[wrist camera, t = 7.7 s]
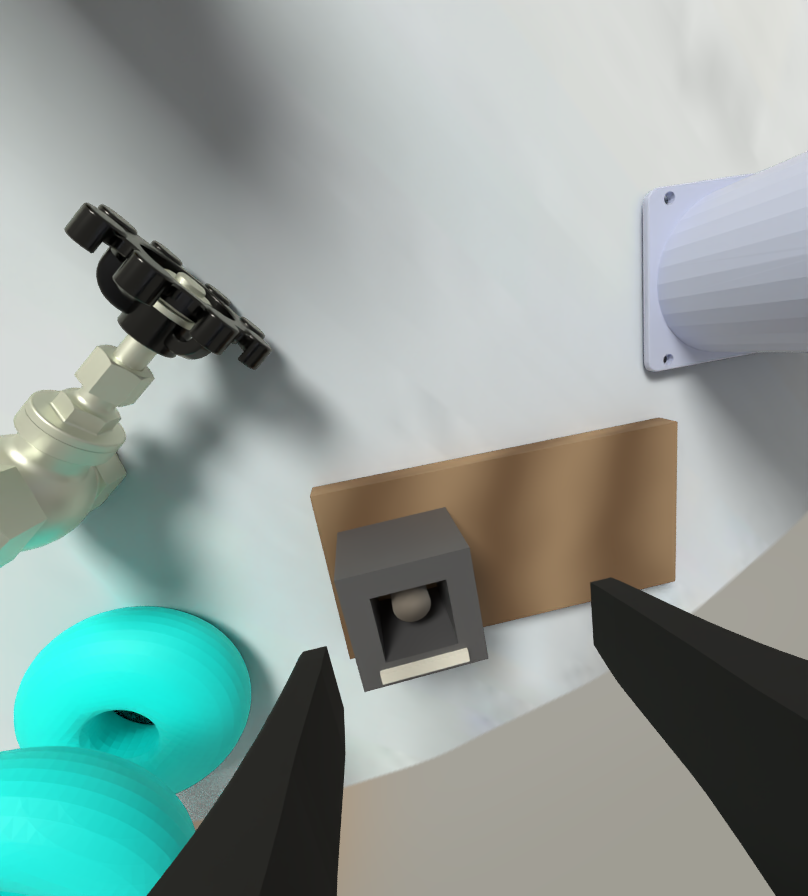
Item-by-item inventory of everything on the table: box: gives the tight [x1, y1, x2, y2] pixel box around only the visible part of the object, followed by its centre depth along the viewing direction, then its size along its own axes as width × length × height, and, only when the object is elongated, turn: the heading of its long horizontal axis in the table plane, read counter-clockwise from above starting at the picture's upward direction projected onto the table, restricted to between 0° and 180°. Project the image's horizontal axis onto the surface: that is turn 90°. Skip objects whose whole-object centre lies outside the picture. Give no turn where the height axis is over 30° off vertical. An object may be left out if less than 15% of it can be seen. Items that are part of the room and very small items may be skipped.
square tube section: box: [334, 507, 488, 692], centre depth 17 cm, size 5×5×4 cm
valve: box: [0, 203, 272, 568], centre depth 14 cm, size 7×7×12 cm
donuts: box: [0, 606, 251, 896], centre depth 16 cm, size 10×10×10 cm
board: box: [310, 418, 677, 659], centre depth 19 cm, size 18×9×4 cm, turn 100°
